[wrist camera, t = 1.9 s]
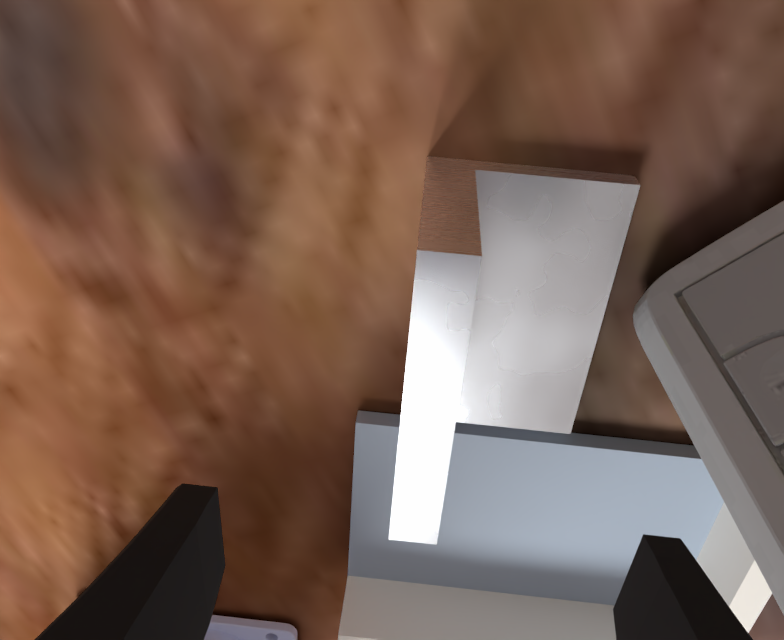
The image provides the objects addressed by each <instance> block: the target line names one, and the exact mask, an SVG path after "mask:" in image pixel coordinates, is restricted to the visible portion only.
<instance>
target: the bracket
mask: <svg viewBox="0 0 784 640" xmlns="http://www.w3.org/2000/svg"><path fill="white" fill-rule="evenodd" d="M639 189H640V184H639V182H638V181H637V179H636V178H635V176H634V175H626V174H615V173H605V172H594V171H583V170H572V169H562V168H551V167H540V166H529V165H519V164H508V163H497V162H486V161H476V160H465V159H454V158H443V157H433V156H427V162H426V172H425V181H424V190H423V200H422V209H421V219H420V228H419V237H418V247H417V257H416V267H415V277H414V287H413V297H412V307H411V317H410V328H409V338H408V348H407V358H406V368H405V378H404V388H403V398H402V408H401V419H400V429H399V439H398V449H397V459H396V469H395V479H394V489H393V499H392V510H391V520H390V530H389V540H398V541H407V542H417V543H426V544H435V545H437V539H438V533H439V527H440V520H441V514H442V508H443V501H444V495H445V489H446V482H447V476H448V470H449V463H450V457H451V451H452V444H453V438H454V432H455V425H456V422H460V423H469V424H479V425H489V426H498V427H508V428H517V429H527V430H536V431H546V432H555V433H565V434H571V430H572V427H573V423H574V420H575V416H576V413H577V409H578V406H579V402H580V398H581V395H582V391H583V388H584V384H585V381H586V377H587V374H588V370H589V366H590V363H591V359H592V356H593V352H594V349H595V345H596V342H597V338H598V334H599V331H600V327H601V324H602V320H603V317H604V313H605V310H606V306H607V302H608V299H609V295H610V292H611V288H612V285H613V281H614V278H615V274H616V270H617V267H618V263H619V260H620V256H621V253H622V249H623V246H624V242H625V239H626V235H627V231H628V228H629V224H630V221H631V217H632V214H633V210H634V207H635V203H636V199H637V196H638V192H639Z"/></svg>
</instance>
